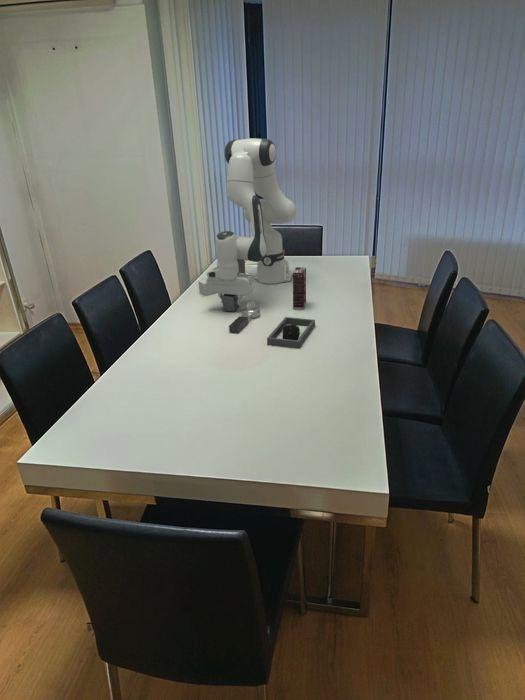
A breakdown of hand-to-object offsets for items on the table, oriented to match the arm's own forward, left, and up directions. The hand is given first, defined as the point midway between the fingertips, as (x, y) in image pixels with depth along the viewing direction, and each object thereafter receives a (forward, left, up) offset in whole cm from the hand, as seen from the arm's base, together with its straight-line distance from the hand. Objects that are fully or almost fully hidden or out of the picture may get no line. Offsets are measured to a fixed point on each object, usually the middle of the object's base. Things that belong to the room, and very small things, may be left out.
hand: (230, 303), depth 207 cm
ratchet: (+12, +11, -3) cm, 16 cm away
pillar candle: (-45, -17, -3) cm, 48 cm away
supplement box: (-12, +27, -3) cm, 30 cm away
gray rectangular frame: (+18, +33, -3) cm, 38 cm away
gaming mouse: (+20, +33, -4) cm, 39 cm away
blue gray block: (0, 0, -2) cm, 2 cm away
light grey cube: (-18, -20, -3) cm, 27 cm away
